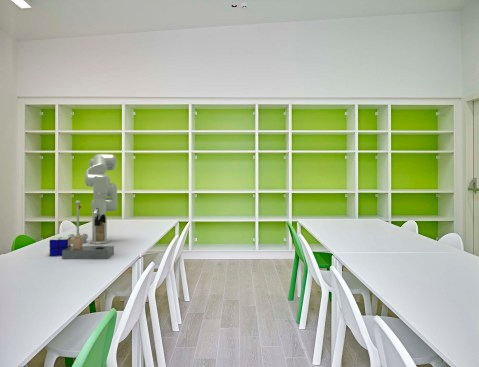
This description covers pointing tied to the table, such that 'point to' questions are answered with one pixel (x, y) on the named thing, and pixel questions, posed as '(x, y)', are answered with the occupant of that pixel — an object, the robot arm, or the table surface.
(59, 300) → the table surface
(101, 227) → the walnut plug
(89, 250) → the block
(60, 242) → the puzzle cube
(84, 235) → the flag stand
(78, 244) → the terracotta plug
